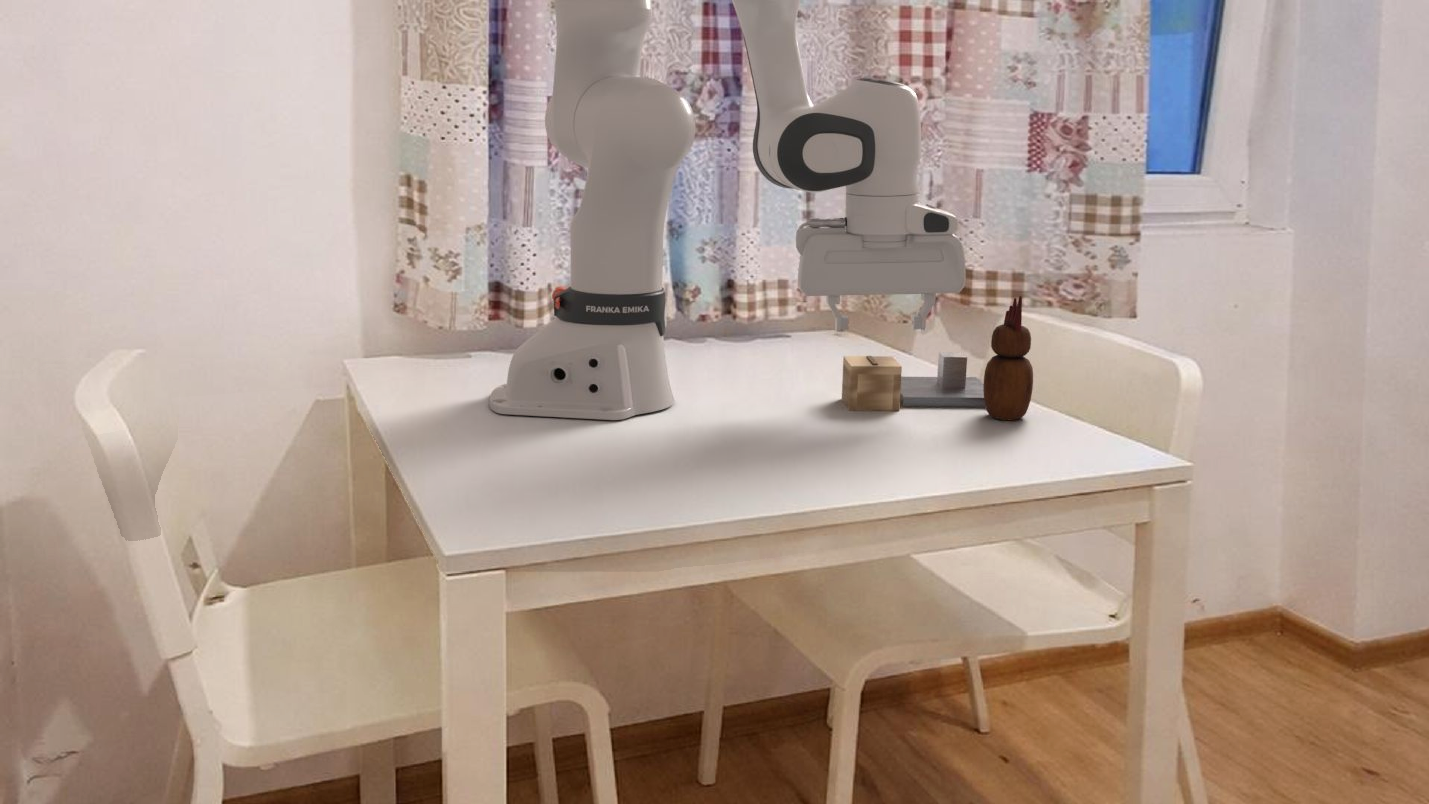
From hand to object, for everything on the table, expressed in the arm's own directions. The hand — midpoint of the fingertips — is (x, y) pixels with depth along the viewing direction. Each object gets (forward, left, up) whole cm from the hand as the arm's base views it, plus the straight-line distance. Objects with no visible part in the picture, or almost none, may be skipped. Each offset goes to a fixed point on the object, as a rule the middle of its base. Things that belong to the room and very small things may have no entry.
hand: (880, 330), depth 162 cm
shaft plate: (+9, +5, -9) cm, 14 cm away
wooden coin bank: (-1, 0, -9) cm, 9 cm away
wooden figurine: (+15, -6, -10) cm, 19 cm away
